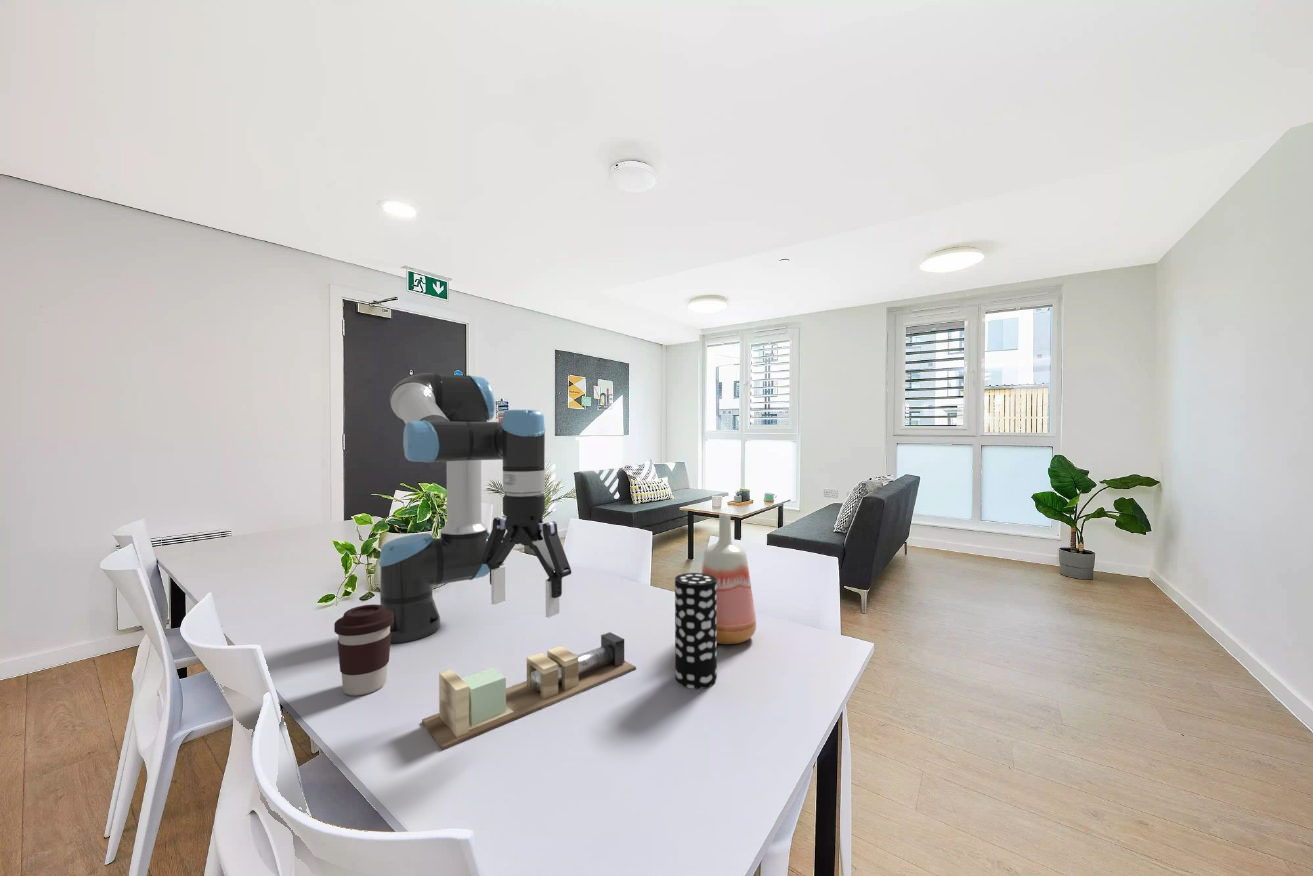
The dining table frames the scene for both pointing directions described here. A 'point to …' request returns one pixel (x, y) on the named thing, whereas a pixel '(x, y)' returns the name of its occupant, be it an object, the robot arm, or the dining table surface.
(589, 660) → the shaft
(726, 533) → the vase
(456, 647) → the dining table surface
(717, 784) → the dining table surface
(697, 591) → the spotted tube
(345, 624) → the coffee cup
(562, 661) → the jig
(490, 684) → the block
